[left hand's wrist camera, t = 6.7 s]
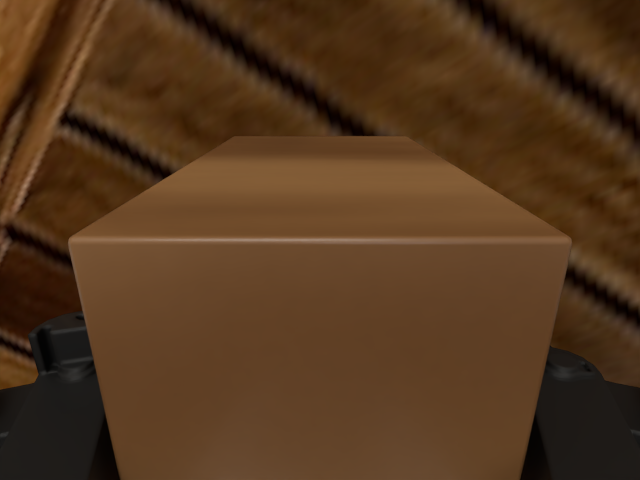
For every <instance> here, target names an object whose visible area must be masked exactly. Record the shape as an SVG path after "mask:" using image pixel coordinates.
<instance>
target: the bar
mask: <svg viewBox="0 0 640 480" xmlns="http://www.w3.org/2000/svg"><path fill="white" fill-rule="evenodd" d="M68 246H69V250H70V255H71V260H72V264H73V269H74V273H75V278H76V282H77V287H78V291H79V296H80V300H81V305H82V310H83V314H84V319H85V323H86V328H87V332H88V337H89V341H90V346H91V350H92V355H93V360H94V364H95V369H96V373H97V378H98V382H99V387H100V391H101V396H102V400H103V405H104V409H105V414H106V419H107V423H108V428H109V432H110V437H111V441H112V446H113V450H114V455H115V459H116V464H117V469H118V473H119V478H120V480H520V478H521V474H522V469H523V465H524V460H525V456H526V451H527V447H528V442H529V438H530V433H531V428H532V424H533V419H534V415H535V410H536V406H537V401H538V397H539V392H540V388H541V383H542V379H543V374H544V370H545V365H546V360H547V356H548V351H549V347H550V342H551V338H552V333H553V329H554V324H555V320H556V315H557V311H558V306H559V302H560V297H561V292H562V288H563V283H564V279H565V274H566V270H567V265H568V261H569V256H570V252H571V247H572V240H571V238H570V237H569V236H567V235H566V234H564V233H562V232H561V231H559V230H558V229H556V228H554V227H553V226H551V225H549V224H548V223H546V222H545V221H543V220H541V219H540V218H538V217H536V216H535V215H533V214H532V213H530V212H528V211H527V210H525V209H524V208H522V207H520V206H519V205H517V204H515V203H514V202H512V201H511V200H509V199H507V198H506V197H504V196H502V195H501V194H499V193H498V192H496V191H494V190H493V189H491V188H489V187H488V186H486V185H485V184H483V183H481V182H480V181H478V180H476V179H475V178H473V177H472V176H470V175H468V174H467V173H465V172H463V171H462V170H460V169H459V168H457V167H455V166H454V165H452V164H450V163H449V162H447V161H446V160H444V159H442V158H441V157H439V156H437V155H436V154H434V153H433V152H431V151H429V150H428V149H426V148H424V147H423V146H421V145H420V144H418V143H416V142H415V141H413V140H411V139H410V138H408V137H406V136H234V137H232V138H231V139H229V140H227V141H226V142H224V143H222V144H221V145H219V146H218V147H216V148H214V149H213V150H211V151H209V152H208V153H206V154H205V155H203V156H201V157H200V158H198V159H196V160H195V161H193V162H192V163H190V164H188V165H187V166H185V167H183V168H182V169H180V170H178V171H177V172H175V173H174V174H172V175H170V176H169V177H167V178H165V179H164V180H162V181H161V182H159V183H157V184H156V185H154V186H152V187H151V188H149V189H148V190H146V191H144V192H143V193H141V194H139V195H138V196H136V197H135V198H133V199H131V200H130V201H128V202H126V203H125V204H123V205H121V206H120V207H118V208H117V209H115V210H113V211H112V212H110V213H108V214H107V215H105V216H104V217H102V218H100V219H99V220H97V221H95V222H94V223H92V224H91V225H89V226H87V227H86V228H84V229H82V230H81V231H79V232H77V233H76V234H74V235H73V236H71V237H70V238H69V242H68Z"/></svg>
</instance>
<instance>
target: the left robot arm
mask: <svg viewBox="0 0 640 480" xmlns="http://www.w3.org/2000/svg"><path fill="white" fill-rule="evenodd" d="M28 337H29V341H30V345H31V348H32V352H33V355H34V359H35V363H36V366H37V370H38V373H39V375H38V377H37V379H36V381H35V383H32V384H28V385H22V386H17V387H12V388H7V389H2V390H0V480H120V478H119V473H118V469H117V464H116V459H115V455H114V450H113V446H112V441H111V437H110V432H109V428H108V423H107V419H106V414H105V409H104V405H103V400H102V396H101V391H100V387H99V382H98V378H97V373H96V369H95V364H94V360H93V355H92V350H91V346H90V341H89V337H88V332H87V328H86V323H85V319H84V314H83V311H79V312H74V313H69V314H64V315H61V316H58V317H56V318H53V319H50V320H48V321H46V322H44V323H43V324H41V325H39V326H37V327H36V328H35V329H34V330H33V331H32V332H31V333H30V334H29V335H28ZM520 480H640V388H638V387H633V386H628V385H623V384H618V383H612V382H609V381H605V380H604V378H603V376H602V374H601V373H600V372H599V371H598V370H597V368H596V367H595V366H594V365H593V364H591V363H590V362H588V361H587V360H585V359H584V358H582V357H580V356H578V355H576V354H573V353H571V352H569V351H565V350H561V349H557V348H552V347H551V346H550V347H549V351H548V356H547V360H546V365H545V370H544V374H543V379H542V383H541V388H540V392H539V397H538V401H537V406H536V410H535V415H534V419H533V424H532V428H531V433H530V438H529V442H528V447H527V451H526V456H525V460H524V465H523V469H522V474H521V478H520Z"/></svg>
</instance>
